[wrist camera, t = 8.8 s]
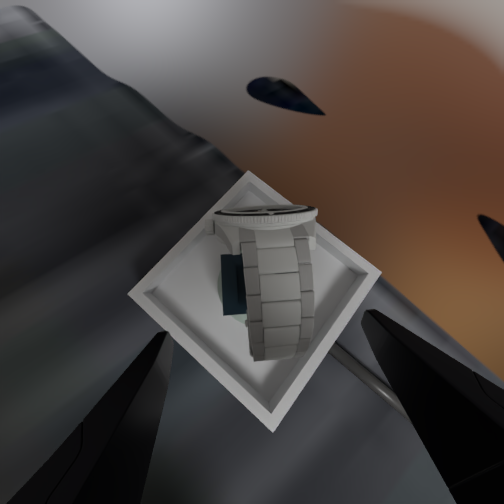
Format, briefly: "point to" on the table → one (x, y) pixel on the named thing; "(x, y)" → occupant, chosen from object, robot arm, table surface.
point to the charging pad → (233, 326)
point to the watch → (269, 275)
